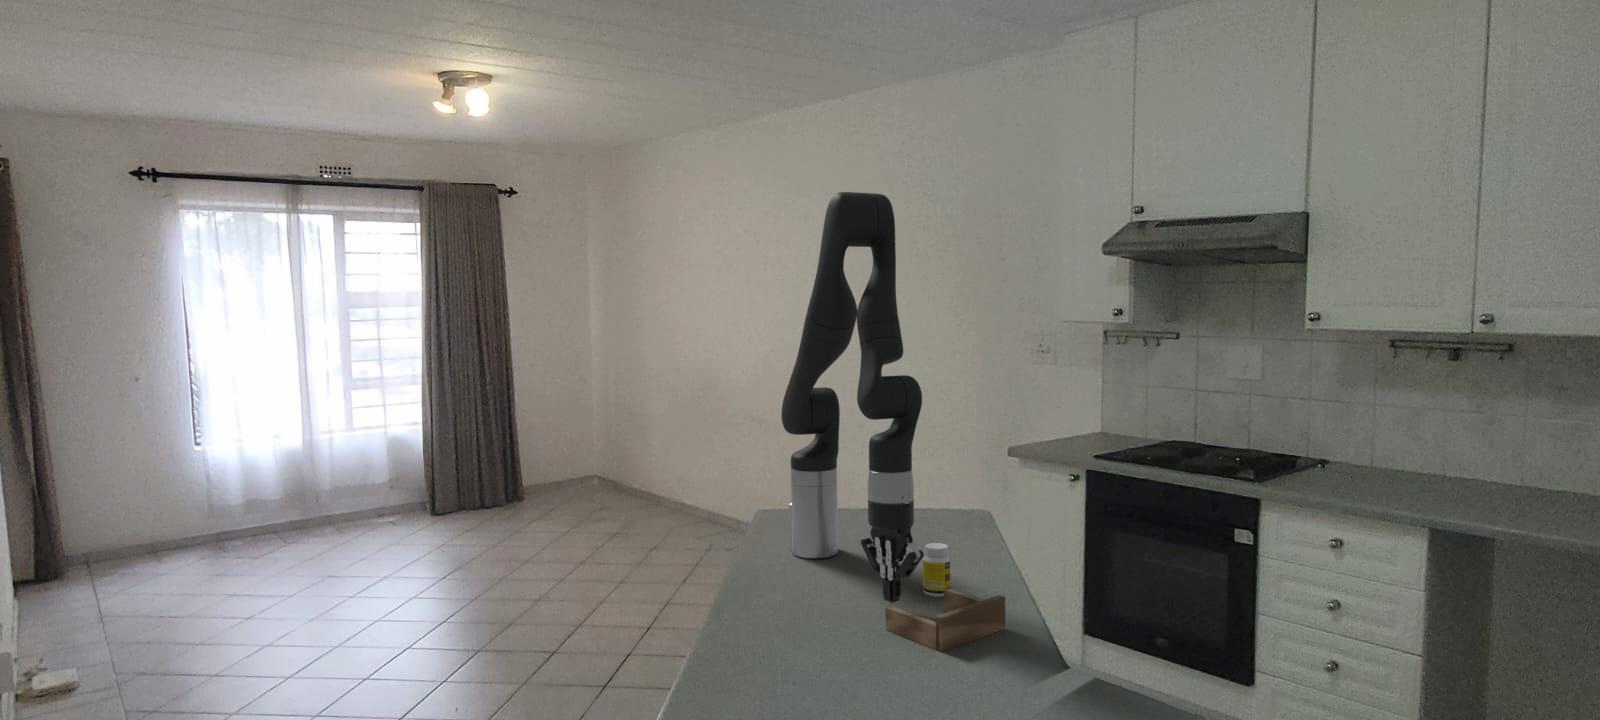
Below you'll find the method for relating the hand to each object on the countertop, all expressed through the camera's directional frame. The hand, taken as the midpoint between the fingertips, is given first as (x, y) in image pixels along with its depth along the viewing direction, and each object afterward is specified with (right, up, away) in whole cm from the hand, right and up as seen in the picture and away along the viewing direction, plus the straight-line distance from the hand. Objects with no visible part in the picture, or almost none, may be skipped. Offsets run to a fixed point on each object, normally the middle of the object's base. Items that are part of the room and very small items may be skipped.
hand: (891, 600), depth 140 cm
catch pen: (+7, -2, -9) cm, 11 cm away
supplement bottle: (+9, -1, +9) cm, 12 cm away
